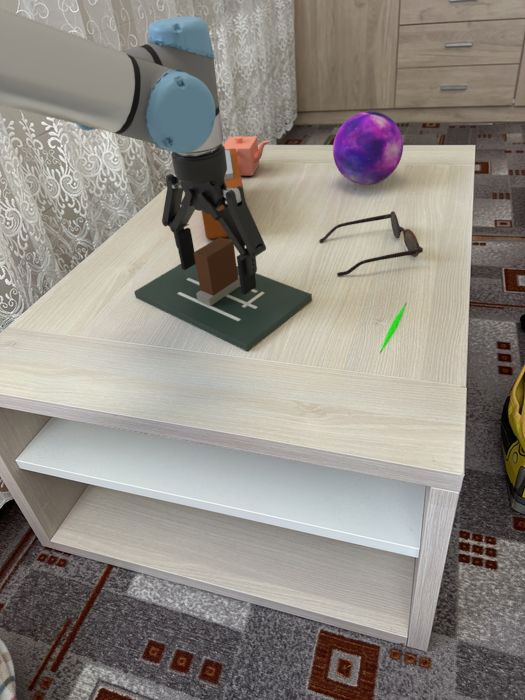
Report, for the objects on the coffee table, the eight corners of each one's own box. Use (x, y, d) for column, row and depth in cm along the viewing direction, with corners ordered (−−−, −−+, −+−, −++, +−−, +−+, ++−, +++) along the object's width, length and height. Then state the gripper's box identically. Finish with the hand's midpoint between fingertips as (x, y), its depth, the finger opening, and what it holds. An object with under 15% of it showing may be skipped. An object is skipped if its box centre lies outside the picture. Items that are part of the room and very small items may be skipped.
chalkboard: (135, 297, 95) (133, 291, 94) (201, 257, 104) (200, 251, 103) (247, 351, 81) (246, 344, 80) (312, 300, 90) (311, 293, 89)
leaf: (409, 304, 87) (409, 300, 87) (382, 357, 78) (382, 353, 77) (403, 303, 88) (404, 299, 87) (375, 356, 78) (376, 351, 78)
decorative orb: (346, 200, 118) (346, 128, 109) (324, 175, 130) (323, 109, 120) (411, 188, 120) (418, 117, 110) (384, 165, 131) (388, 98, 122)
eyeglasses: (421, 264, 95) (424, 238, 92) (338, 279, 94) (339, 253, 91) (390, 228, 107) (392, 203, 104) (316, 240, 105) (316, 216, 102)
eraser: (210, 306, 89) (202, 260, 83) (197, 300, 90) (188, 255, 85) (243, 284, 93) (237, 238, 88) (230, 278, 95) (224, 234, 89)
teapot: (267, 180, 130) (264, 145, 125) (206, 181, 133) (201, 146, 128) (276, 162, 139) (274, 128, 134) (219, 162, 142) (214, 129, 137)
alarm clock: (248, 237, 109) (242, 182, 101) (206, 242, 108) (197, 187, 101) (240, 189, 127) (234, 140, 120) (204, 194, 127) (196, 144, 120)
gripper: (284, 153, 72) (292, 290, 85) (158, 126, 85) (182, 248, 99) (245, 172, 68) (260, 313, 81) (120, 141, 81) (151, 266, 95)
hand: (217, 277), depth 90 cm, fingers open, 13 cm apart
